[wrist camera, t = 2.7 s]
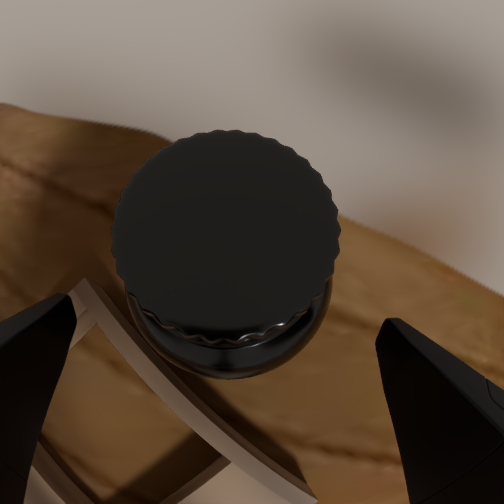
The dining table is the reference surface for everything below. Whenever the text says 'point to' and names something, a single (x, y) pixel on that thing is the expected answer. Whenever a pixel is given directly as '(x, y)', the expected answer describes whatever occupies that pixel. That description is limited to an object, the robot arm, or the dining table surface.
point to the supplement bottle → (226, 252)
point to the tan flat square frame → (188, 409)
